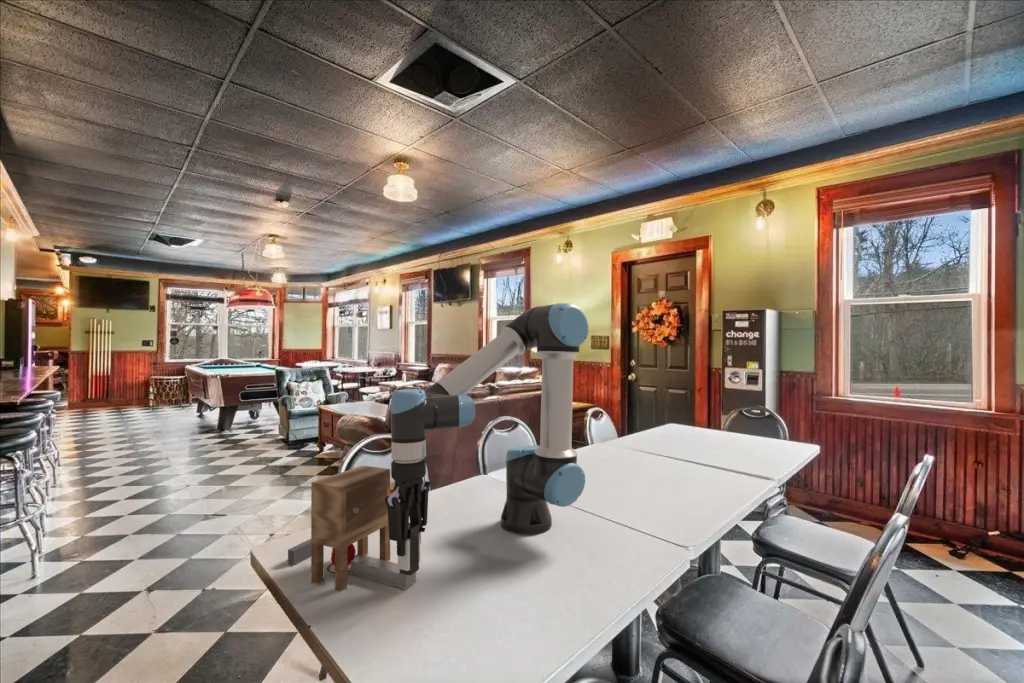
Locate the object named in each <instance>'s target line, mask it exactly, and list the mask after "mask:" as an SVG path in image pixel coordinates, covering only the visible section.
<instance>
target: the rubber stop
mask: <svg viewBox="0 0 1024 683" xmlns="http://www.w3.org/2000/svg"><path fill="white" fill-rule="evenodd" d="M310 558H311V538H309V539H308V540H305V541H303V542H301V543H299V544H297V545H294V546H293V547H291V548H288V549H287V564H288V565H290V566H293V567H294V566H296V565H298V564H300V563H302V562H304V561H306V560H307V559H310Z"/></svg>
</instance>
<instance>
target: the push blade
mask: <svg viewBox="0 0 1024 683" xmlns="http://www.w3.org/2000/svg"><path fill="white" fill-rule="evenodd" d="M407 539H410V570H409V571H405V570H401V569H398V562H397V563H396V562H392V561H390V560H389V561H385V560H381V559H380V558H378V557H377V558H376V557H372V556H368V555H366V556H365V555H360V556H357V557H354V559H353V560H352V561H351V572H350V575H353V576H357V577H360V578H364V579H367V580H372V581H373V582H374V581H375V582H379V583H383V584H386V585H390V586H393V587H395V588H396V587H397V588H401V589H403V590H404V589H405V590H407V589H408V588H410V587H411V586H413V584H415V583H416V582H417V572H418V571H419V570H420V562H419V524H414V523H410V522H409V524H408V535H407Z"/></svg>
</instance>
